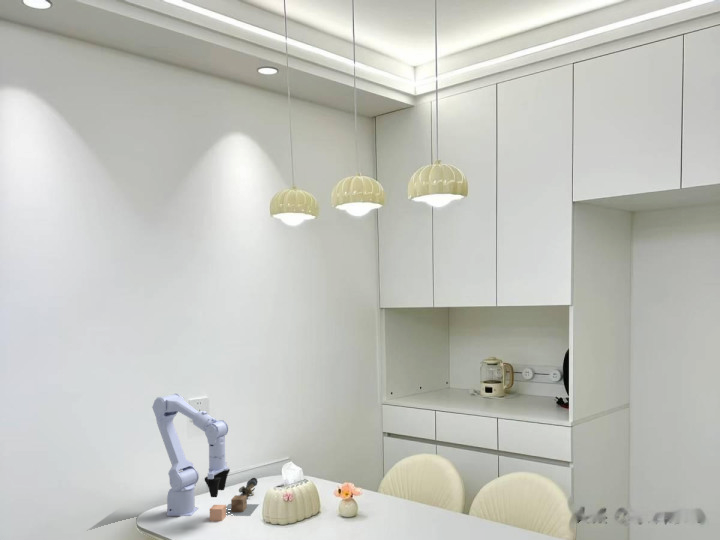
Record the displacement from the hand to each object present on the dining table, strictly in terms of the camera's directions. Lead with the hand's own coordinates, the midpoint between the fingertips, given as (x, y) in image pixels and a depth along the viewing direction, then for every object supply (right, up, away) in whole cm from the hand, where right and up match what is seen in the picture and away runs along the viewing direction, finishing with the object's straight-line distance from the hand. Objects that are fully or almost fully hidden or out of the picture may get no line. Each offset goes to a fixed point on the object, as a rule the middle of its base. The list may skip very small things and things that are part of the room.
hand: (217, 493), depth 219 cm
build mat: (+6, -9, +8) cm, 14 cm away
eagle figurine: (+7, -10, +24) cm, 27 cm away
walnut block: (+6, -9, +8) cm, 14 cm away
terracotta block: (0, -9, 0) cm, 9 cm away
